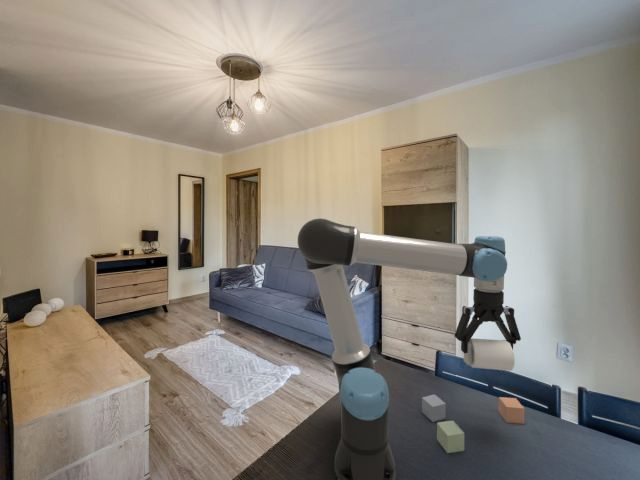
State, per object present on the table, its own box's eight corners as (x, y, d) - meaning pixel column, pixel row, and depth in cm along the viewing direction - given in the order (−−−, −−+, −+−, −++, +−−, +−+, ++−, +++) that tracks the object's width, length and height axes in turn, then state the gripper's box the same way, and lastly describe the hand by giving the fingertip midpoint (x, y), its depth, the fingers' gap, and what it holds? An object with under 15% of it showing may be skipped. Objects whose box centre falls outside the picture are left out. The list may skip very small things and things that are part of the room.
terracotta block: (506, 422, 86) (506, 407, 86) (498, 411, 91) (498, 397, 91) (524, 424, 85) (524, 408, 85) (515, 413, 90) (515, 398, 90)
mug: (514, 376, 76) (515, 347, 75) (474, 373, 78) (475, 345, 77) (495, 355, 88) (496, 331, 87) (461, 353, 89) (461, 329, 89)
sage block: (447, 453, 75) (447, 435, 74) (436, 439, 80) (436, 422, 79) (464, 450, 76) (464, 433, 75) (452, 437, 81) (452, 420, 80)
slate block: (432, 422, 86) (432, 407, 86) (421, 412, 91) (422, 397, 91) (445, 418, 88) (445, 403, 88) (434, 408, 93) (434, 394, 92)
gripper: (454, 292, 77) (452, 369, 79) (538, 292, 77) (535, 369, 78) (442, 286, 85) (441, 356, 86) (519, 286, 84) (517, 356, 86)
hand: (486, 363), depth 82 cm, fingers closed on mug, 11 cm apart
